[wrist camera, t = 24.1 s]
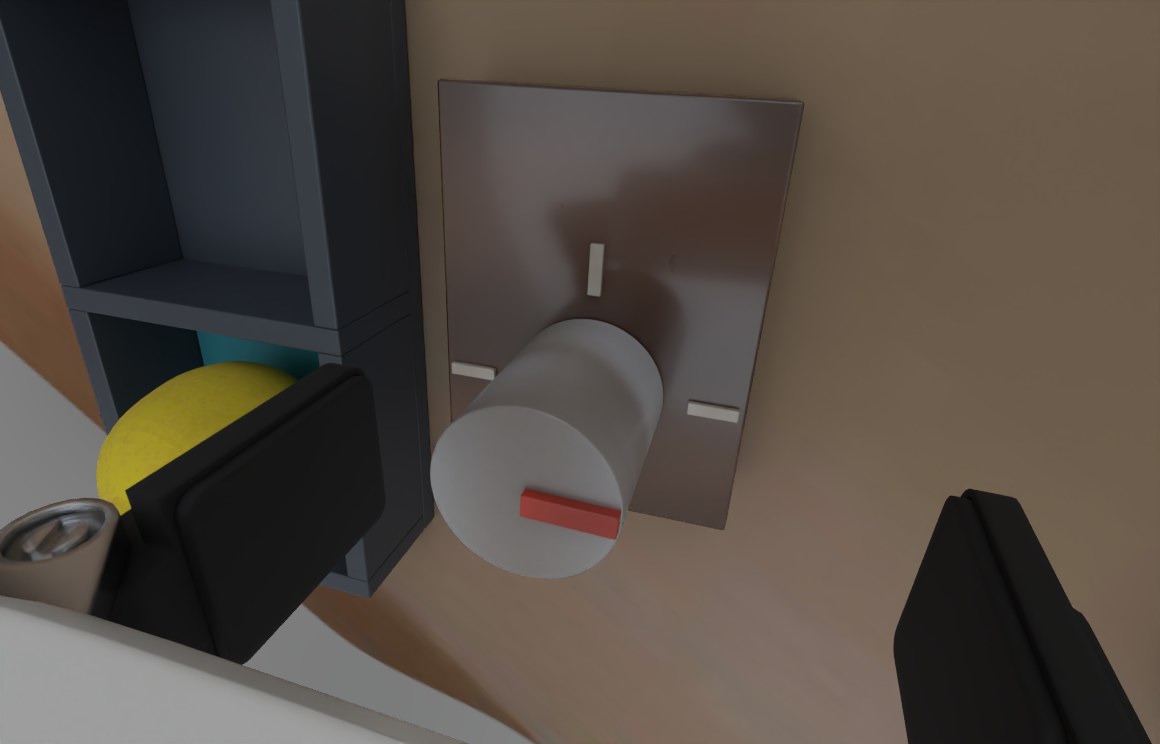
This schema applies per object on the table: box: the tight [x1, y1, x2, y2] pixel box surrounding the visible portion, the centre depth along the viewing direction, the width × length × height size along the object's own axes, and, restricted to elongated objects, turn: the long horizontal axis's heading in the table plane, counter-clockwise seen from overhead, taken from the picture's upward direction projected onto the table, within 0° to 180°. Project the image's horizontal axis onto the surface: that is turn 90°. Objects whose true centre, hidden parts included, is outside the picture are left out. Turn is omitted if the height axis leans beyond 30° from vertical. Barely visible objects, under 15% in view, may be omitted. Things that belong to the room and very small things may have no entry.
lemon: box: [96, 361, 298, 516], centre depth 21 cm, size 6×6×8 cm
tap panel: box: [438, 79, 804, 530], centre depth 19 cm, size 12×9×3 cm
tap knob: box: [430, 319, 663, 579], centre depth 16 cm, size 4×4×6 cm
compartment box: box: [0, 0, 434, 598], centre depth 21 cm, size 19×10×5 cm, turn 177°
